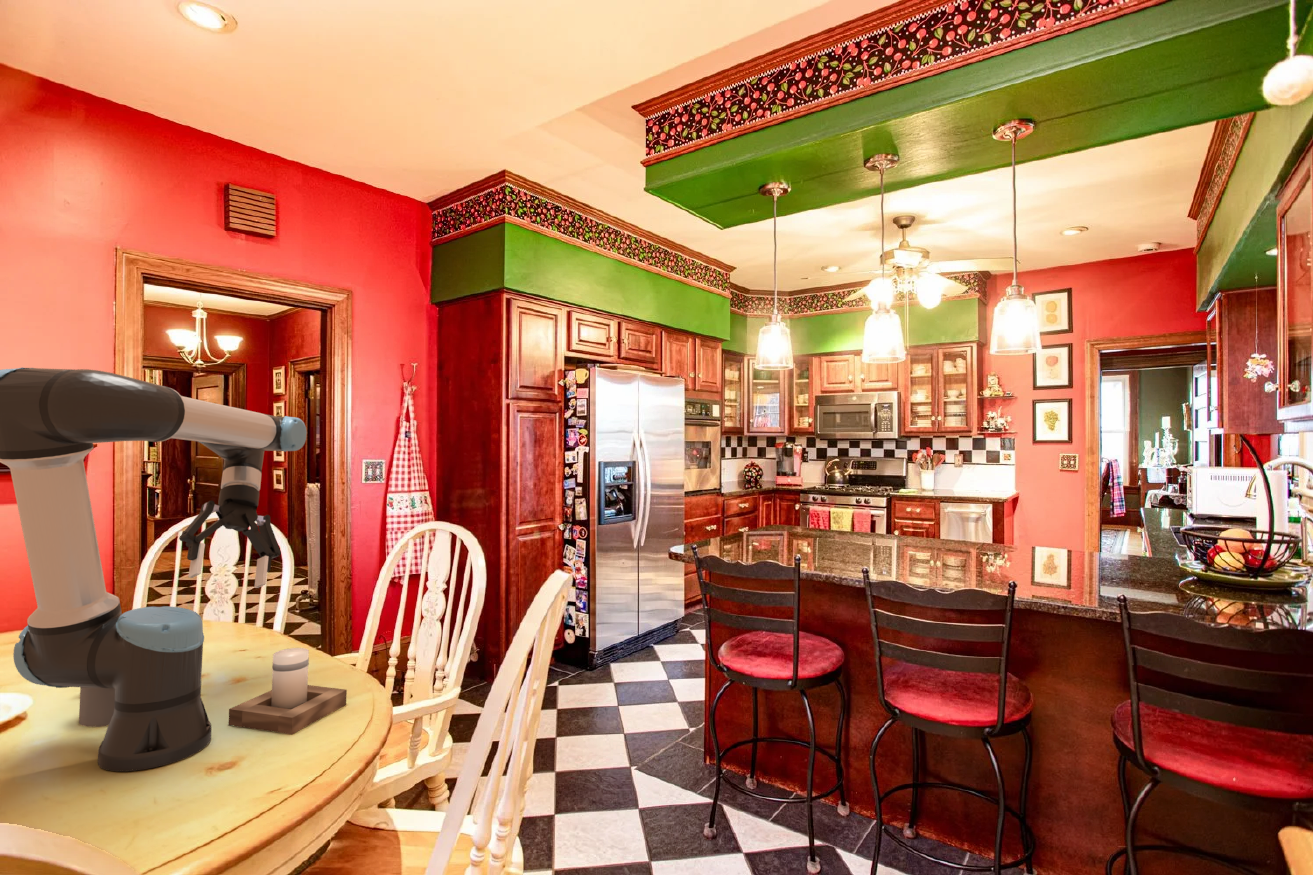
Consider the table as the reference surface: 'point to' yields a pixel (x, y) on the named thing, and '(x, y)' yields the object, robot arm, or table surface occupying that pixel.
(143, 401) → the robot arm
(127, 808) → the table surface
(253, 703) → the cradle
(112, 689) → the coffee mug
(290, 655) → the white cylinder
